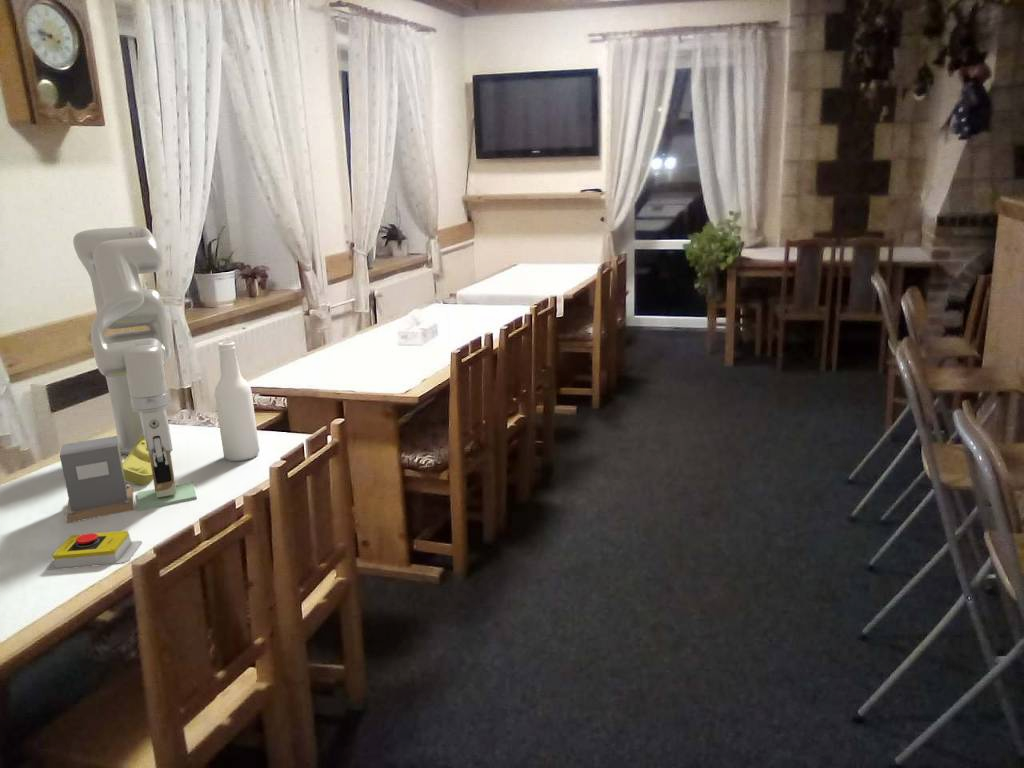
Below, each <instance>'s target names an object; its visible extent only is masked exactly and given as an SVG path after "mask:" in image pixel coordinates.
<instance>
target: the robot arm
mask: <svg viewBox="0 0 1024 768" xmlns="http://www.w3.org/2000/svg"><path fill="white" fill-rule="evenodd" d="M72 241H73V247H74V251H75V253H76V255H77V258H78V259H79V261H80V262H81V264H82V266H84V268H85V270H86V271H87V273H88V276H89V278H90V282H91V286H92V290H93V291H92V292H93V298H94V303H95V308H96V314H95V316H94V319H93V321H92V324H91V328H90V341H91V346H92V351H93V355H94V359H95V363H96V366H97V369H98V371H99V373H100V374H101V375H102V376H104V377H105V380H106V383H107V387H108V388H107V389H108V393H109V399H110V404H111V410H112V415H113V420H114V421H113V422H114V426H115V430H116V436H117V437H118V443H119V448H120V453H121V456H122V455H123V456H124V455H125V456H128V455H129V453H130V452H131V451H132V449H133V448H134V446H135V445H136V443H137V442H138V440H139V439H140V437H141V436H142V435H143V434H144V437H145V441H146V445H147V448H148V451H149V454H150V455H153V460H154V466H153V467H154V473H155V478H156V483H157V484H160V483H165V482H170V481H172V478H171V472H170V466H169V464H168V462H167V456H166V451H170V452H172V451H173V443H172V437H171V431H170V426H169V419H168V414H167V410H166V409H167V408H169V407H170V398H169V392H168V386H167V382H166V375H165V369H164V364H165V363H166V362H168V361H169V360H170V358H171V356H172V347H171V340H170V332H169V326H168V320H167V313H166V308H165V304H164V300H163V298H162V296H161V294H160V293H159V291H157V290H156V289H154V288H143V287H142V284H141V280H140V276H139V275H141V274H152V273H153V274H154V273H158V272H160V270H161V269H162V267H163V255H162V252H161V248H160V245H159V244H158V242H157V239H156V238H155V236H154V235H153V233H152V232H151V231H150V230H149V229H148V228H147V227H145V226H138V225H137V226H123V227H106V228H93V229H86V230H82V231H79V232H78V233H76V234H74V237H73V240H72ZM145 326H146V327H148V328H147V329H140V330H139V329H138V330H130V331H129V330H128V331H121V332H115V333H111V334H108V335H105V334H106V330H107V329H108V330H121V329H130V328H138V327H145ZM153 439H154V440H153ZM160 440H161V442H160ZM153 448H154V449H153ZM162 449H164V451H162ZM151 450H152V451H151ZM154 450H156V453H154ZM163 455H164V456H163ZM156 456H157V457H156Z"/></svg>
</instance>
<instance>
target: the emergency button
mask: <svg viewBox="0 0 1024 768" xmlns="http://www.w3.org/2000/svg"><path fill="white" fill-rule="evenodd" d="M130 536H131V535H130V533H129V531H128V530H120V531H119V530H117V531H108V532H107V531H106V532H94V533H93V532H92V533H84V534H83V533H82V534H74V535H70V536H68V538H67V539H66V540H65V541H64V542H63V543H62V544H61V545H60V546H58V547H59V548H57V550H55V552H53V554H52V558H53V559H52V561H51V562H50V564H48V565H47V566H46V570H47V569H48V570H47V571H53V570H54V569H56V570H64V569H63V568H67V569H75V568H74V567H78V568H85V567H84V566H89V567H93V566H92V565H100V566H108V565H107V564H111V565H120V564H119V563H122V564H126V563H129V561H130V560H131V559H132V558H131V557H134V555H135V554H136V553H137V551H138V550H139V548H140V547H141V545H143V541H142V540H134V541H133V540H131V537H130ZM125 562H126V563H125ZM54 571H55V570H54Z"/></svg>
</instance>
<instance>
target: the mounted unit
mask: <svg viewBox="0 0 1024 768" xmlns="http://www.w3.org/2000/svg"><path fill="white" fill-rule="evenodd" d="M59 458H60V463H61V467H62V468H61V469H62V473H63V479H64V483H65V487H66V492H67V497H68V500H67V507H66V512H65V520H66V523H67V524H70V523H73V522H74V521H75V522H79V520H80V521H85V520H90V519H94V518H93V517H95V518H99V517H98V516H100V517H104V516H109V515H110V516H111V515H115V514H120V513H123V512H124V513H125V512H130V511H134V510H135V509H134V490H133V485H132V484H131V485H130V483H127V481H126V480H125V475H124V469H123V464H122V463H123V459H122V455H121V453H120V448H119V443H118V437H117V435H115V436H114V435H113V436H107V437H101V438H96V439H89V440H83V441H77V442H71V443H65V444H64V443H63V444H62V445H61V448H60V453H59ZM89 518H90V519H89ZM84 519H85V520H84ZM69 522H70V523H69Z"/></svg>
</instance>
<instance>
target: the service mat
mask: <svg viewBox="0 0 1024 768" xmlns="http://www.w3.org/2000/svg"><path fill="white" fill-rule="evenodd" d="M175 485H176V492H177V494H174V495H169V496H163V497H158V498H157V497H156V492H155V488H153V489H149V490H143V491H139V492H137V507H138V508H137V509H138V511H143V510H147V509H152V508H157V507H163V506H168V505H172V504H173V505H174V504H177V503H183V502H184V503H185V502H188V501H194V500H197V493H196V490H195V489H196V488H195V485H194V482H193V481H190V482H184V483H179V484H175Z"/></svg>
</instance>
